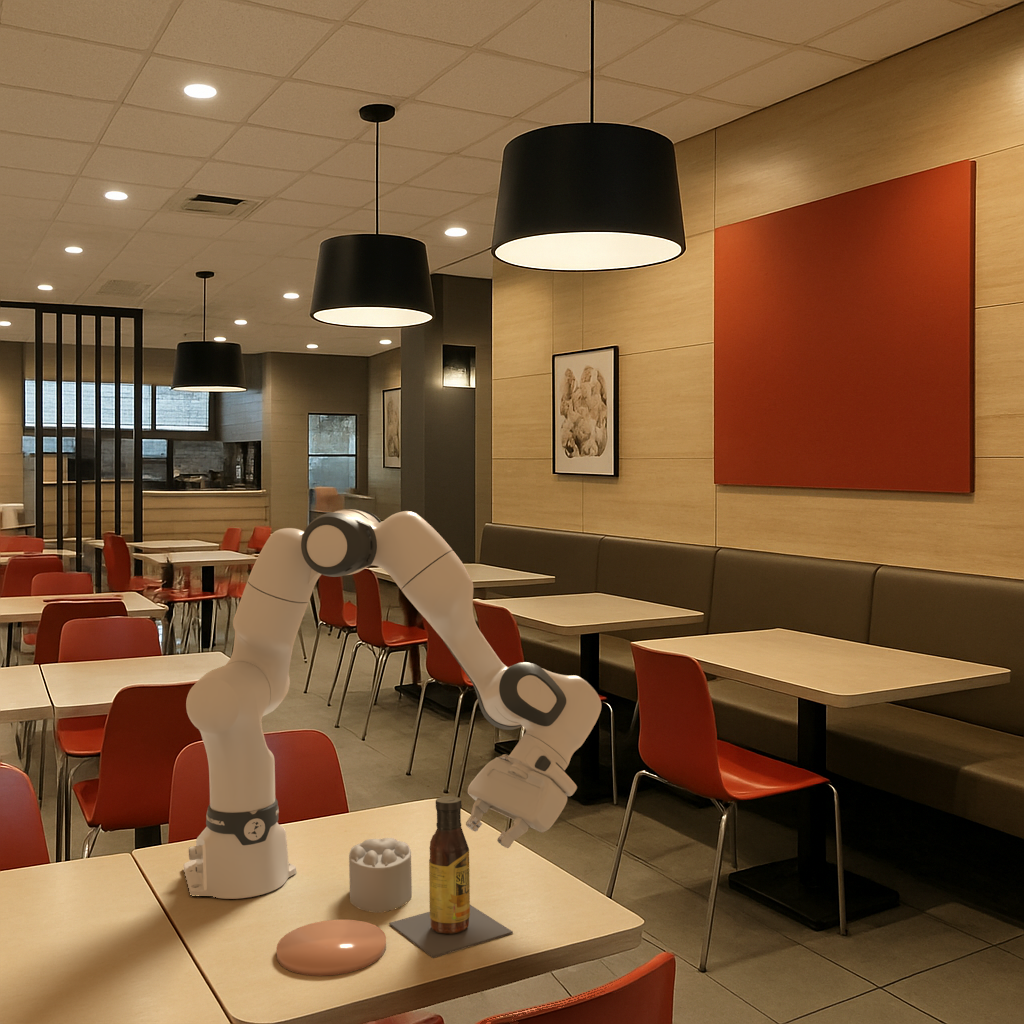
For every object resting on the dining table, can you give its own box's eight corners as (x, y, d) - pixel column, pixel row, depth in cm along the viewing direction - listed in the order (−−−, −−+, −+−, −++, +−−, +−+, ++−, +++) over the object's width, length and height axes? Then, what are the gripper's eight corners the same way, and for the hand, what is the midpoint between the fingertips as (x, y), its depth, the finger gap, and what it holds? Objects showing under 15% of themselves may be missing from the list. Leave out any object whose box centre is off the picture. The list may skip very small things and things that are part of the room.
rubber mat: (389, 924, 158) (389, 922, 158) (465, 903, 165) (465, 901, 165) (433, 957, 146) (432, 955, 146) (512, 933, 154) (512, 931, 154)
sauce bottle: (464, 937, 152) (462, 807, 152) (424, 934, 153) (422, 805, 153) (474, 919, 158) (472, 794, 158) (436, 917, 160) (434, 792, 159)
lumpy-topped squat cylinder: (410, 880, 176) (409, 831, 176) (413, 910, 163) (412, 857, 163) (350, 884, 175) (349, 834, 175) (348, 914, 162) (347, 861, 162)
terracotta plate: (261, 944, 151) (260, 936, 151) (358, 918, 160) (358, 911, 160) (301, 986, 138) (301, 978, 138) (405, 955, 147) (404, 947, 147)
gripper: (489, 741, 172) (440, 808, 167) (560, 767, 155) (509, 843, 150) (511, 763, 175) (464, 830, 169) (583, 791, 158) (534, 866, 152)
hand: (485, 836), depth 159 cm, fingers open, 8 cm apart
